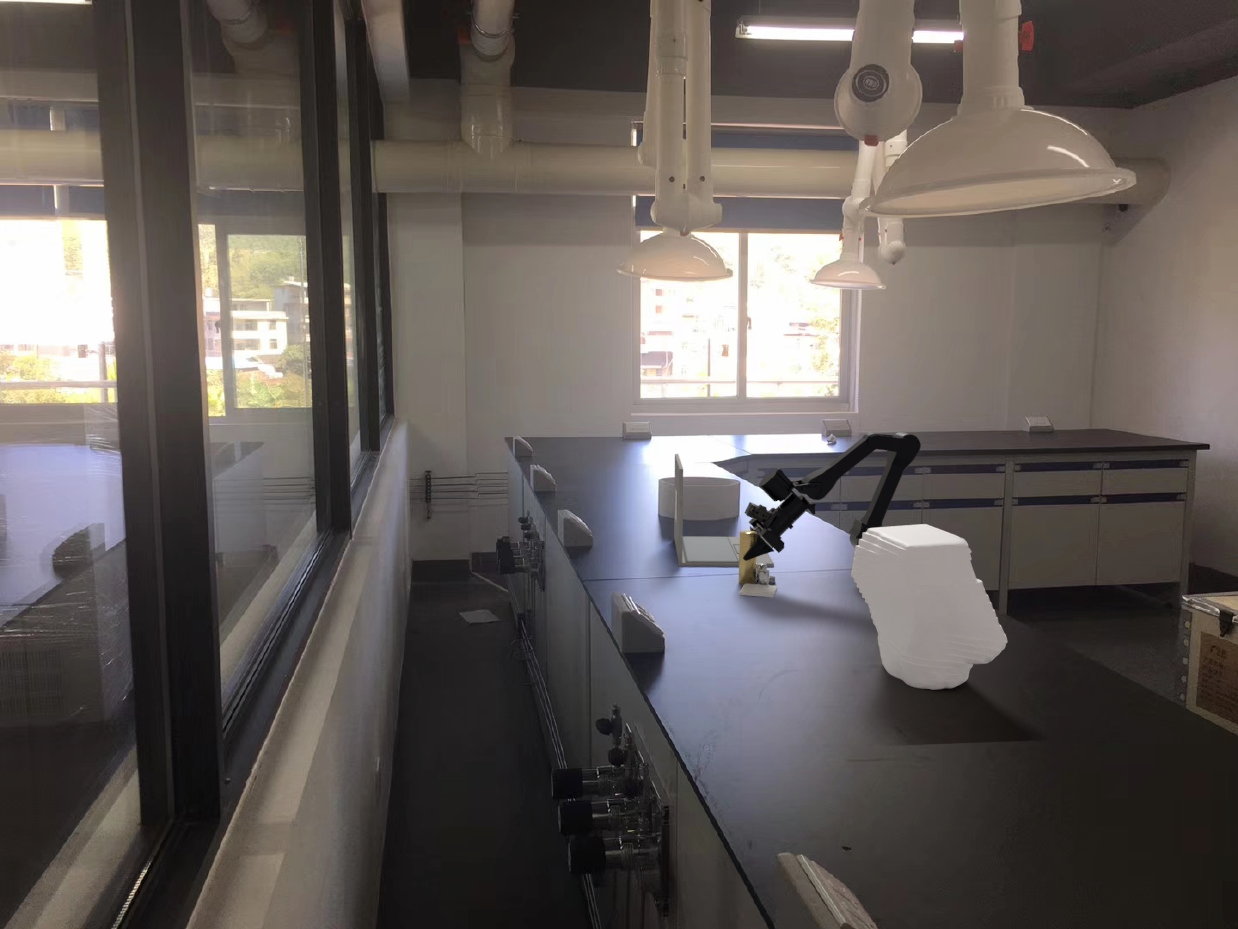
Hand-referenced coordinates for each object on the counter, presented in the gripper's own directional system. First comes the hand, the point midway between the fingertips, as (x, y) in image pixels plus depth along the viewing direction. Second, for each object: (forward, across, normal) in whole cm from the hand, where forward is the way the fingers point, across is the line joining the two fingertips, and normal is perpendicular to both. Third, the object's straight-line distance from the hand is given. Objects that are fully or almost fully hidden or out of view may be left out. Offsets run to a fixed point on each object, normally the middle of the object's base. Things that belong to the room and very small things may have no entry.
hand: (742, 557), depth 234 cm
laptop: (+5, -35, +5) cm, 35 cm away
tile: (+3, +9, +6) cm, 11 cm away
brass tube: (+4, 0, +6) cm, 7 cm away
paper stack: (-10, +67, +19) cm, 71 cm away
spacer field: (+2, 0, +8) cm, 8 cm away
